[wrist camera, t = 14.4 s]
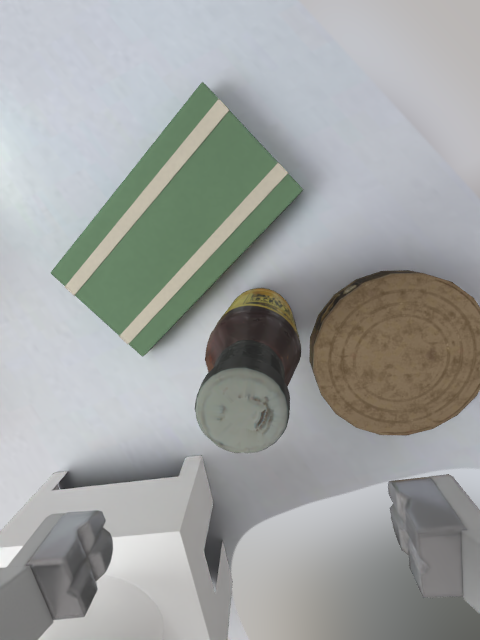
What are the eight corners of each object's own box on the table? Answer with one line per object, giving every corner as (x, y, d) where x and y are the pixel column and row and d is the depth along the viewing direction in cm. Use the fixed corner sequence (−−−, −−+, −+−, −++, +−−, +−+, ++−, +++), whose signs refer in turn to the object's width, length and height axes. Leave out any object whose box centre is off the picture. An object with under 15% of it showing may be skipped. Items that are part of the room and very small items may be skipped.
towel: (206, 92, 28) (202, 80, 26) (300, 193, 30) (303, 189, 27) (62, 271, 33) (49, 273, 31) (149, 350, 34) (141, 357, 32)
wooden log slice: (319, 428, 35) (324, 444, 32) (298, 285, 32) (302, 290, 29) (474, 409, 33) (494, 425, 30) (469, 255, 30) (492, 257, 27)
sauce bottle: (303, 318, 32) (361, 432, 13) (257, 356, 34) (247, 511, 14) (260, 270, 31) (254, 315, 12) (214, 311, 33) (144, 410, 14)
